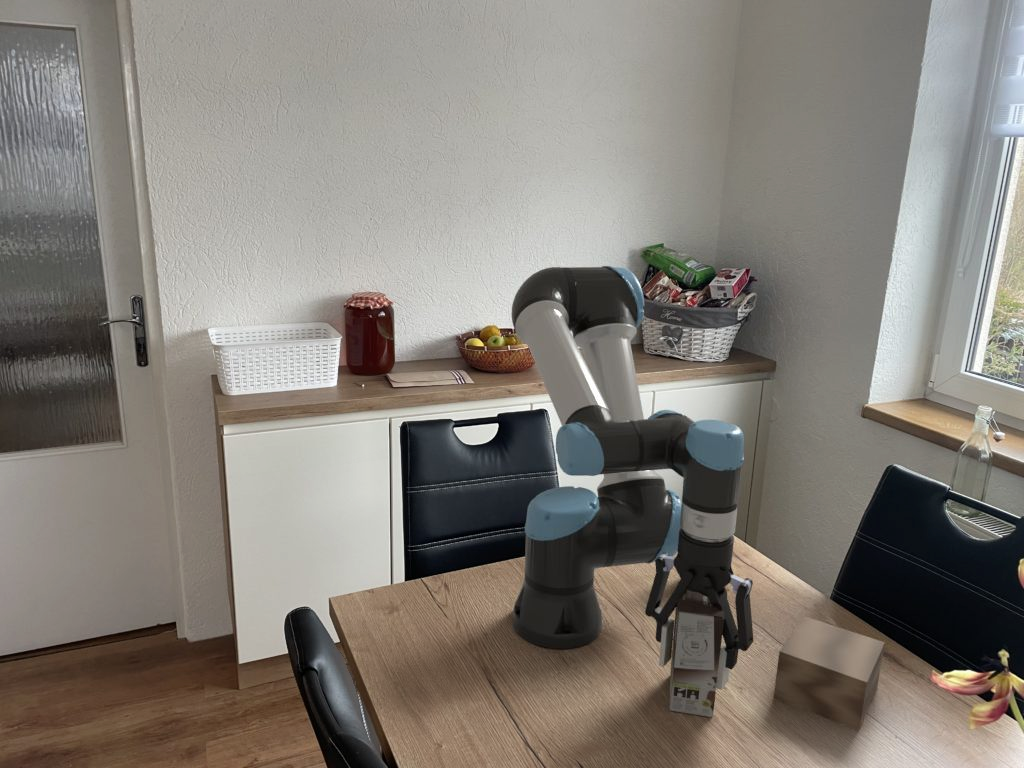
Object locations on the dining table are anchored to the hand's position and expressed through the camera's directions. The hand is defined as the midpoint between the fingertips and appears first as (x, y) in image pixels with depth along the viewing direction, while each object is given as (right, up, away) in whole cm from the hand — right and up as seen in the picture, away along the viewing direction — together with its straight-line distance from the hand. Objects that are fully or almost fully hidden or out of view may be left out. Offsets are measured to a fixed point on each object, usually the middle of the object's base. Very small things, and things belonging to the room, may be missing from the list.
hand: (693, 672), depth 116 cm
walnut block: (+21, -4, +2) cm, 21 cm away
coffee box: (0, -4, +1) cm, 4 cm away
